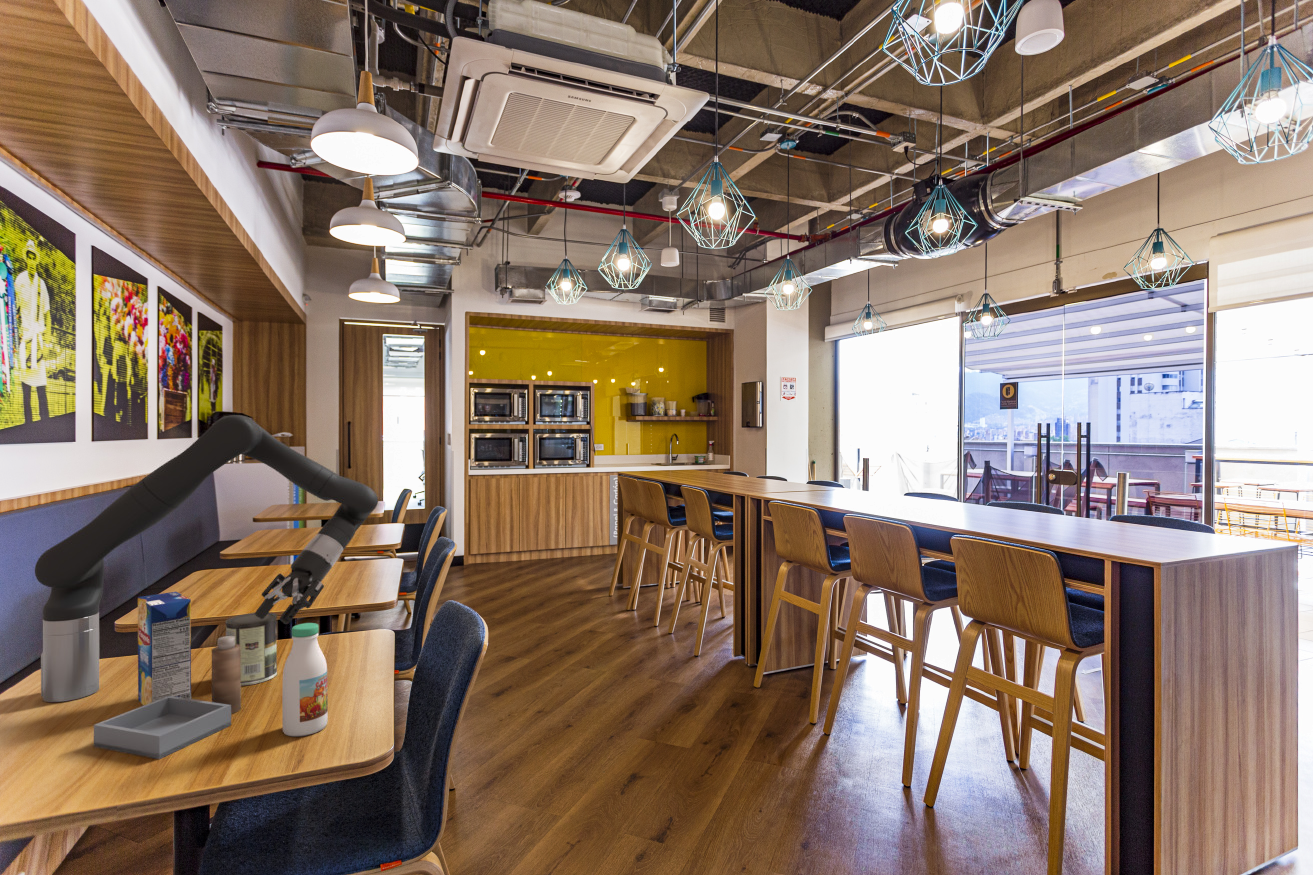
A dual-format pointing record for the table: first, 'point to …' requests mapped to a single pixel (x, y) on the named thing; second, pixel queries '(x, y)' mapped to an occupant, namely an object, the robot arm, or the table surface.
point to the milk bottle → (305, 684)
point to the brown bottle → (227, 673)
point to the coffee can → (255, 646)
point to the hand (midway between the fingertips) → (270, 619)
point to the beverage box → (164, 647)
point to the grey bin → (162, 726)
